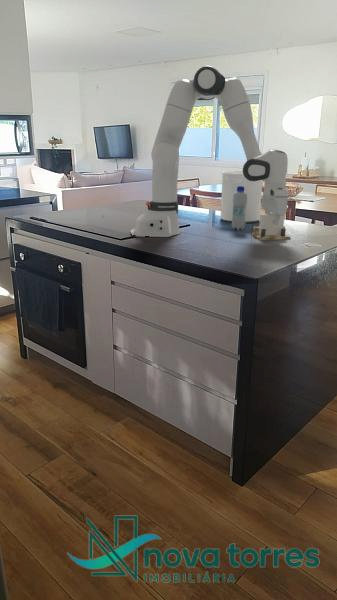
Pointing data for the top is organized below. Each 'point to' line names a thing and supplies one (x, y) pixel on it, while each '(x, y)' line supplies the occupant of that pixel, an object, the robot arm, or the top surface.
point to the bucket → (230, 187)
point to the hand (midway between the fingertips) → (271, 222)
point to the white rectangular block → (270, 224)
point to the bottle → (239, 208)
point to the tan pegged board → (269, 237)
